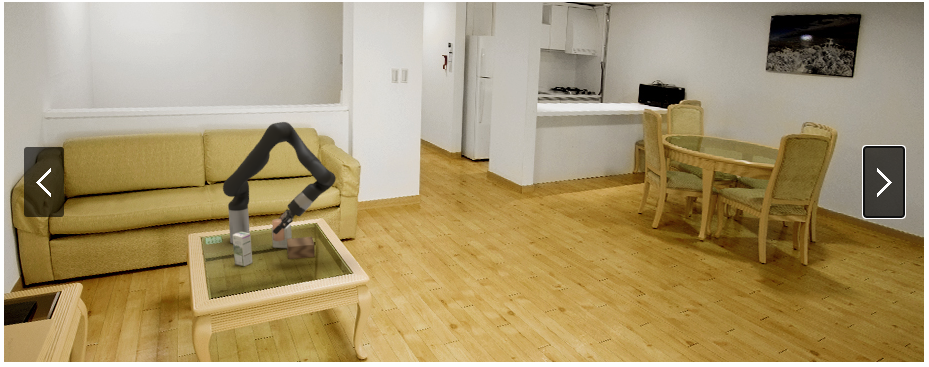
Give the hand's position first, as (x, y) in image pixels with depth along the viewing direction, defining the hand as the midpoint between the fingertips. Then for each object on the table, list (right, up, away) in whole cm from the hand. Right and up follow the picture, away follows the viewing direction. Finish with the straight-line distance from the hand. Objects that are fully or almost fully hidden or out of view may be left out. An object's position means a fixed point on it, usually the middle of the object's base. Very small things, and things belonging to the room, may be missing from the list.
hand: (274, 230), depth 278 cm
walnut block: (+7, -12, +19) cm, 23 cm away
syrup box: (-15, -16, +4) cm, 22 cm away
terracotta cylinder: (+2, -4, +2) cm, 5 cm away
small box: (-5, -10, +28) cm, 30 cm away
